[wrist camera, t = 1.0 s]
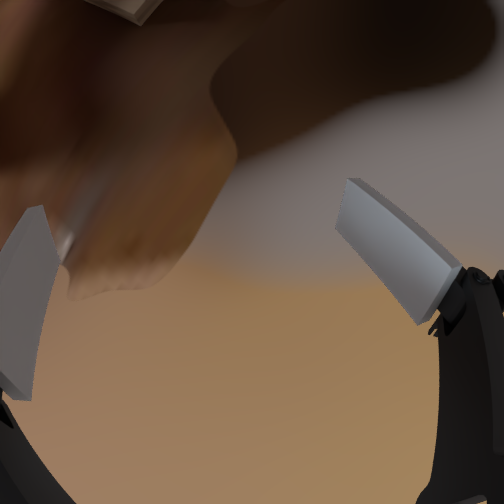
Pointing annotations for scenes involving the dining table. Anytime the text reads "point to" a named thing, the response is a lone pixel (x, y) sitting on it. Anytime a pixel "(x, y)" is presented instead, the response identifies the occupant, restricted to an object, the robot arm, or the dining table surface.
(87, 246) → the dining table surface
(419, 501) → the robot arm
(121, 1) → the beige slotted holder
